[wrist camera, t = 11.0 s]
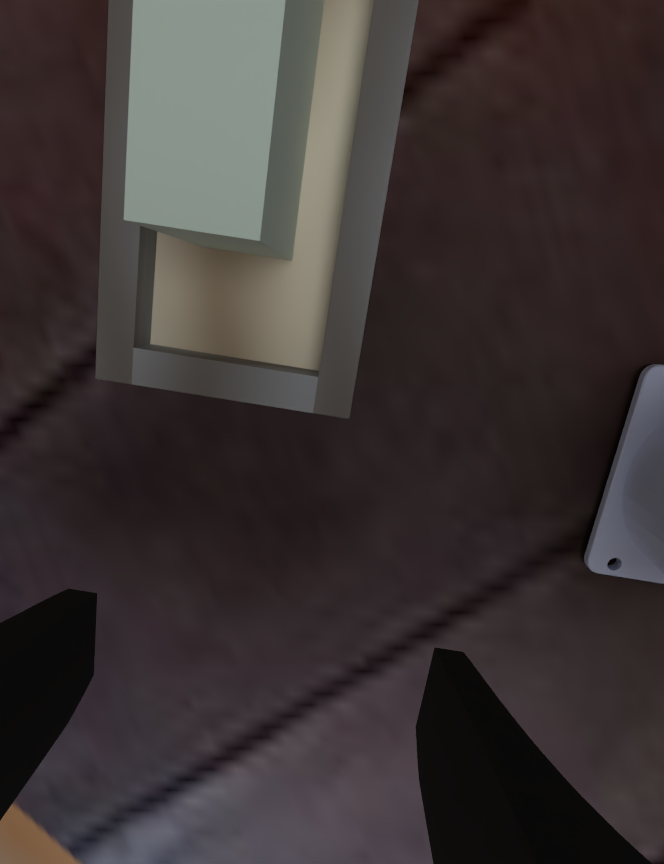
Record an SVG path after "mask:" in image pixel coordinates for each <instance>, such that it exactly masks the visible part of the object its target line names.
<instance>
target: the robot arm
mask: <svg viewBox="0 0 664 864" xmlns="http://www.w3.org/2000/svg"><path fill="white" fill-rule="evenodd" d="M612 558H617V560H616V562H615V563H614V564H612V565H607V564H608V562H609V560H610V559H612ZM584 562H585V564H586V565H587V567H588V568H589V569H590V570H591V571H592V572H595V573H599V574H605V575H611V576H618V577H624V578H630V579H637V580H643V581H649V582H655V583H662V584H664V365H661V364H652V365H650V366H647V367H646V368H645V369H644V370H643V371H642V372H641V374H640V376H639V379H638V383H637V386H636V389H635V392H634V396H633V399H632V402H631V405H630V409H629V412H628V415H627V418H626V422H625V425H624V428H623V431H622V435H621V438H620V441H619V444H618V448H617V451H616V454H615V458H614V461H613V464H612V467H611V471H610V474H609V477H608V480H607V484H606V487H605V490H604V493H603V497H602V500H601V503H600V506H599V510H598V513H597V516H596V519H595V523H594V526H593V529H592V532H591V536H590V539H589V542H588V545H587V549H586V552H585V555H584ZM96 606H97V593H92V592H85V591H79V590H73V589H67V590H65V591H63V592H60V593H58V594H56V595H54V596H52V597H50V598H48V599H46V600H44V601H42V602H40V603H38V604H36V605H34V606H32V607H31V608H29V609H27V610H25V611H23V612H21V613H19V614H17V615H15V616H13V617H11V618H9V619H7V620H5V621H3V622H1V623H0V820H1V819H2V817H3V816H4V814H5V813H6V811H7V810H8V809H9V807H10V806H11V804H12V803H13V801H14V800H15V799H16V797H17V796H18V794H19V793H20V791H21V790H22V789H23V787H24V786H25V784H26V783H27V781H28V780H29V779H30V777H31V776H32V774H33V773H34V771H35V770H36V769H37V767H38V766H39V764H40V763H41V761H42V760H43V759H44V757H45V756H46V754H47V753H48V751H49V750H50V748H51V747H52V746H53V744H54V743H55V741H56V740H57V738H58V737H59V735H60V734H61V732H62V731H63V729H64V728H65V727H66V725H67V724H68V722H69V720H70V718H71V717H72V715H73V713H74V711H75V709H76V708H77V706H78V704H79V702H80V700H81V698H82V696H83V695H84V693H85V691H86V689H87V687H88V685H89V683H90V681H91V679H92V677H93V675H94V655H95V630H96ZM416 739H417V757H418V771H419V782H420V788H421V794H422V800H423V806H424V812H425V818H426V824H427V829H428V835H429V841H430V846H431V852H432V858H433V863H434V864H652V863H651V862H650V861H648V860H647V859H646V858H645V857H644V856H643V855H642V854H640V853H639V852H638V851H637V850H636V849H635V848H634V847H633V846H632V845H631V844H630V843H629V842H628V841H626V840H625V839H624V838H623V837H622V836H621V835H620V834H619V833H618V832H617V831H616V830H615V829H614V828H613V827H612V826H611V825H610V824H609V823H608V822H607V821H606V820H605V819H604V818H603V817H602V816H601V815H600V814H599V813H598V812H597V811H596V810H595V809H594V808H593V807H592V806H591V805H590V804H589V803H588V802H587V801H586V800H585V799H584V798H583V797H582V796H581V795H580V794H579V793H578V792H577V791H576V790H575V789H574V788H573V787H572V786H571V785H570V783H569V782H568V781H567V780H566V779H565V778H564V777H563V776H562V775H561V773H560V772H559V771H558V770H557V769H556V768H555V767H554V766H553V764H552V763H551V762H550V761H549V760H548V759H547V758H546V756H545V755H544V754H543V753H542V752H541V751H540V750H539V748H538V747H537V746H536V745H535V744H534V742H533V741H532V740H531V739H530V738H529V737H528V735H527V734H526V733H525V732H524V730H523V729H522V728H521V727H520V725H519V724H518V723H517V722H516V720H515V719H514V718H513V717H512V715H511V714H510V713H509V712H508V710H507V709H506V708H505V706H504V705H503V704H502V703H501V701H500V700H499V699H498V697H497V696H496V695H495V693H494V692H493V691H492V689H491V688H490V687H489V685H488V684H487V683H486V681H485V680H484V679H483V677H482V676H481V675H480V673H479V672H478V671H477V669H476V668H475V667H474V665H473V664H472V663H471V661H470V660H469V659H468V657H467V656H466V655H465V653H464V652H459V651H453V650H447V649H441V648H434V653H433V657H432V661H431V665H430V669H429V674H428V678H427V682H426V686H425V691H424V695H423V699H422V703H421V707H420V712H419V716H418V720H417V724H416Z"/></svg>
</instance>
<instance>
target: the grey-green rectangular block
mask: <svg viewBox="0 0 664 864" xmlns="http://www.w3.org/2000/svg"><path fill="white" fill-rule="evenodd" d="M323 8H324V0H133V15H132V38H131V61H130V84H129V108H128V131H127V154H126V177H125V200H124V220H125V221H128V222H131V223H134V224H137V225H140V226H143V227H146V228H149V229H151V230H154V231H157V232H160V233H163V234H166V235H169V236H172V237H175V238H178V239H181V240H184V241H187V242H190V243H192V244H195V245H198V246H201V247H206V248H213V249H219V250H226V251H232V252H239V253H245V254H251V255H258V256H264V257H271V258H277V259H284V260H290V261H292V259H293V251H294V243H295V235H296V227H297V218H298V210H299V202H300V194H301V186H302V178H303V170H304V162H305V154H306V146H307V137H308V129H309V121H310V113H311V105H312V97H313V89H314V81H315V73H316V65H317V56H318V48H319V40H320V32H321V24H322V16H323Z"/></svg>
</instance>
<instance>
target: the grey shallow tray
mask: <svg viewBox="0 0 664 864" xmlns="http://www.w3.org/2000/svg"><path fill="white" fill-rule="evenodd" d="M418 1H419V0H324V8H323V16H322V24H321V32H320V40H319V48H318V56H317V65H316V73H315V81H314V89H313V97H312V105H311V113H310V121H309V129H308V137H307V146H306V154H305V162H304V170H303V178H302V186H301V194H300V202H299V210H298V218H297V227H296V235H295V243H294V251H293V259H292V261H290V260H284V259H277V258H271V257H264V256H258V255H251V254H245V253H239V252H232V251H226V250H219V249H213V248H206V247H201V246H198V245H195V244H192V243H190V242H187V241H184V240H181V239H178V238H175V237H172V236H169V235H166V234H163V233H160V232H157V231H154V230H151V229H149V228H146V227H143V226H140V225H137V224H134V223H131V222H128V221H125V220H124V200H125V177H126V154H127V131H128V108H129V84H130V61H131V38H132V15H133V0H109V10H108V38H107V66H106V94H105V122H104V150H103V178H102V206H101V234H100V262H99V290H98V318H97V346H96V374H95V379H101V380H107V381H114V382H120V383H126V384H133V385H139V386H145V387H151V388H158V389H164V390H170V391H177V392H183V393H189V394H196V395H202V396H208V397H214V398H221V399H227V400H233V401H240V402H246V403H252V404H258V405H265V406H271V407H277V408H284V409H290V410H296V411H302V412H309V413H315V414H321V415H328V416H334V417H340V418H346V419H349V417H350V411H351V405H352V399H353V393H354V387H355V381H356V375H357V369H358V363H359V357H360V351H361V345H362V339H363V333H364V327H365V321H366V315H367V309H368V303H369V297H370V291H371V285H372V279H373V273H374V267H375V261H376V255H377V248H378V242H379V236H380V230H381V224H382V218H383V212H384V206H385V200H386V194H387V188H388V182H389V176H390V170H391V164H392V158H393V152H394V146H395V140H396V134H397V128H398V122H399V116H400V110H401V104H402V98H403V92H404V86H405V80H406V74H407V68H408V62H409V56H410V50H411V44H412V38H413V32H414V26H415V20H416V13H417V7H418Z"/></svg>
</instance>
